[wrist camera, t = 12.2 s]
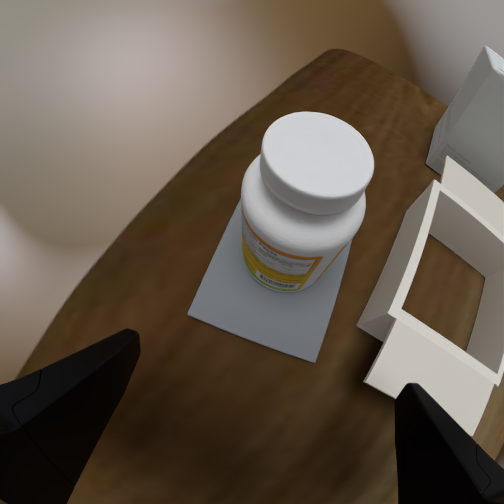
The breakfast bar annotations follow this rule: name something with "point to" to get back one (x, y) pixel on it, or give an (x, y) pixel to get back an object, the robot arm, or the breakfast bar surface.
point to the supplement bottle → (303, 199)
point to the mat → (265, 300)
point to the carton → (421, 336)
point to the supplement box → (475, 124)
